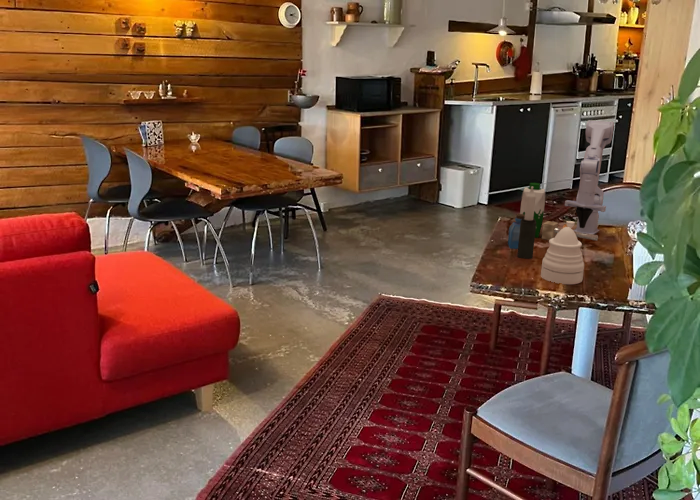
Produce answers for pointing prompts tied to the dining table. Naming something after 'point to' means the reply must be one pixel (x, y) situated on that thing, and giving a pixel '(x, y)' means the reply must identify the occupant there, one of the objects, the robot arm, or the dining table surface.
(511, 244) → the perfume bottle
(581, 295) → the dining table surface
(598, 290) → the dining table surface
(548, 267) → the honey pot
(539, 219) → the milk carton
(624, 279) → the dining table surface
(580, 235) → the pipe
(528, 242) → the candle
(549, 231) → the clamp block
